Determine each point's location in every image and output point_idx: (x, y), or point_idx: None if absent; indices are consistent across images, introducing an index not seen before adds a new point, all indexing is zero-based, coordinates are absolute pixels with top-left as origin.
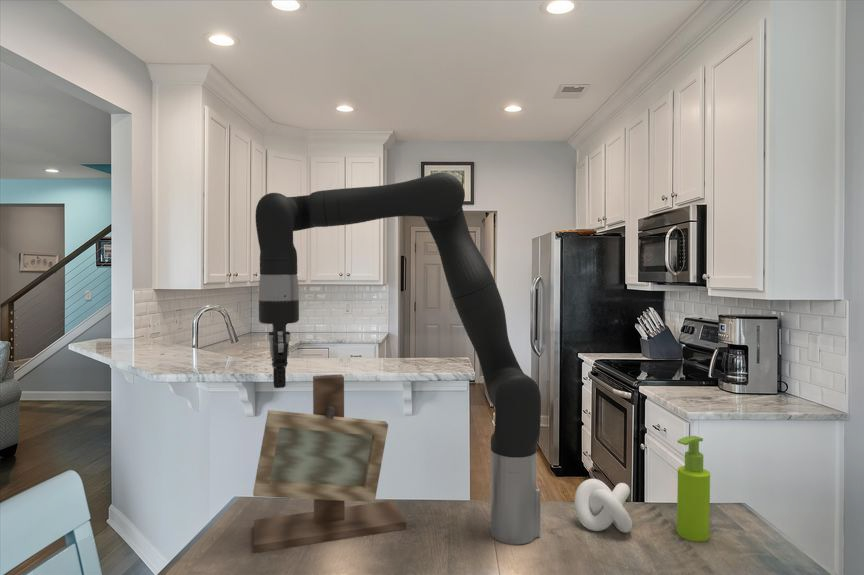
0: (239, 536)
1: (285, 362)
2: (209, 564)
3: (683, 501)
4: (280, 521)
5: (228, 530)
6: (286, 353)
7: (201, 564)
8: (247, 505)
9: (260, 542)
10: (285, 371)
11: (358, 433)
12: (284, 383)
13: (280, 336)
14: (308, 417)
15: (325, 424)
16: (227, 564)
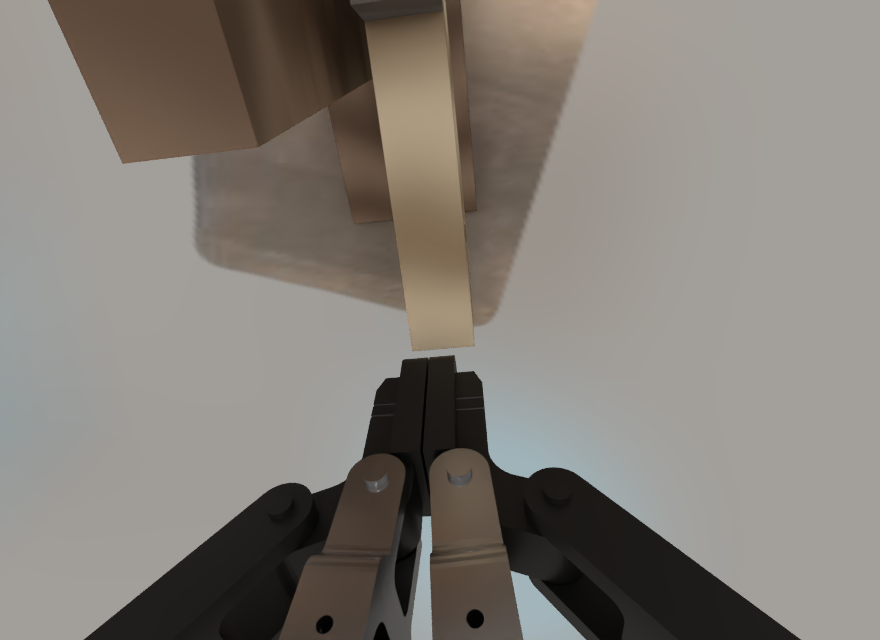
0: (396, 242)
1: (616, 513)
2: (497, 279)
3: None
4: (370, 160)
5: (366, 266)
6: (763, 621)
7: (493, 292)
8: (242, 243)
9: (467, 198)
10: (452, 428)
11: None
12: (452, 371)
13: None
14: (455, 142)
15: (445, 30)
16: (506, 249)
